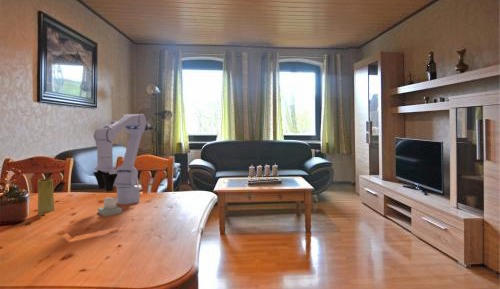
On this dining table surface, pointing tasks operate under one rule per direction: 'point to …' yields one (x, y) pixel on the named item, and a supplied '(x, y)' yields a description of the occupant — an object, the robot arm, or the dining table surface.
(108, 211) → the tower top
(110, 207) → the white rounded dome
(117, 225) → the dining table surface
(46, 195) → the vase
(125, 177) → the robot arm
